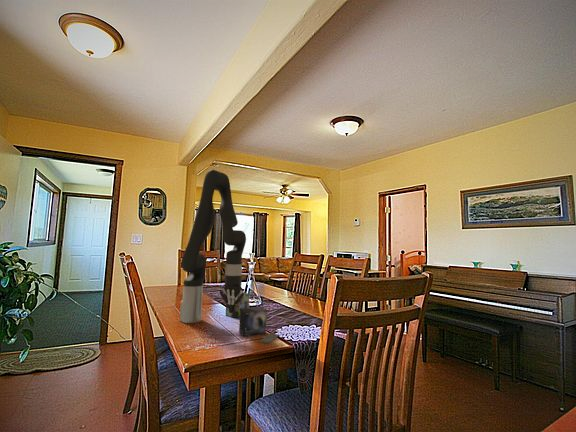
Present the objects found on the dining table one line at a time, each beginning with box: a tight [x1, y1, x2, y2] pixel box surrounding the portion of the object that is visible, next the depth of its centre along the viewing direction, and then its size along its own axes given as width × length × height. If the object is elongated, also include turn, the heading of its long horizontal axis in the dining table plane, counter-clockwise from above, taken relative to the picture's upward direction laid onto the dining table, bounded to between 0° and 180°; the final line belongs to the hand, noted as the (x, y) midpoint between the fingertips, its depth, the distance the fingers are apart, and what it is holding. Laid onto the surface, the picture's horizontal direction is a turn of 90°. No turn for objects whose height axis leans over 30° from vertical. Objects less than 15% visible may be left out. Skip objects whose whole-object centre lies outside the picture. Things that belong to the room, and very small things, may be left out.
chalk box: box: [225, 292, 250, 319], centre depth 164 cm, size 9×9×15 cm
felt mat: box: [259, 332, 280, 344], centre depth 128 cm, size 4×11×1 cm, turn 161°
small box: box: [238, 306, 268, 337], centre depth 134 cm, size 11×6×10 cm, turn 117°
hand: (231, 312), depth 139 cm, fingers closed
